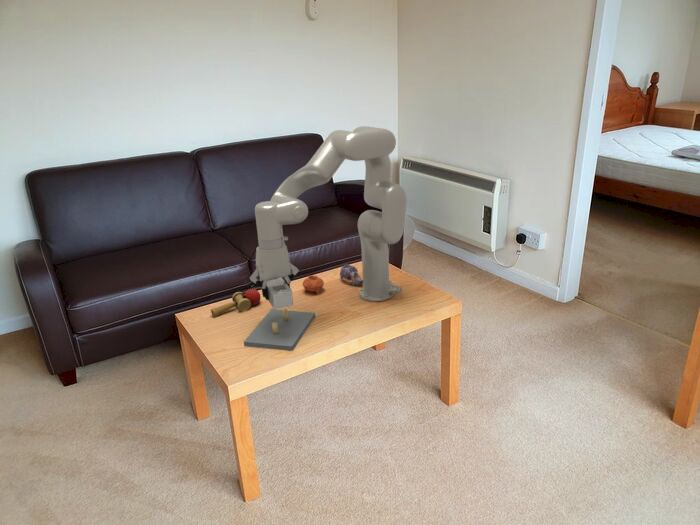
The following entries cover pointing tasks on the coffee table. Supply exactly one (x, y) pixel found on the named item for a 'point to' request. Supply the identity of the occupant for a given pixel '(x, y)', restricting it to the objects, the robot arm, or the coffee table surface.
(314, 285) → the pot
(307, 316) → the pin board
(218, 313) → the kendama
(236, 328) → the coffee table surface
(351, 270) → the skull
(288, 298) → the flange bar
